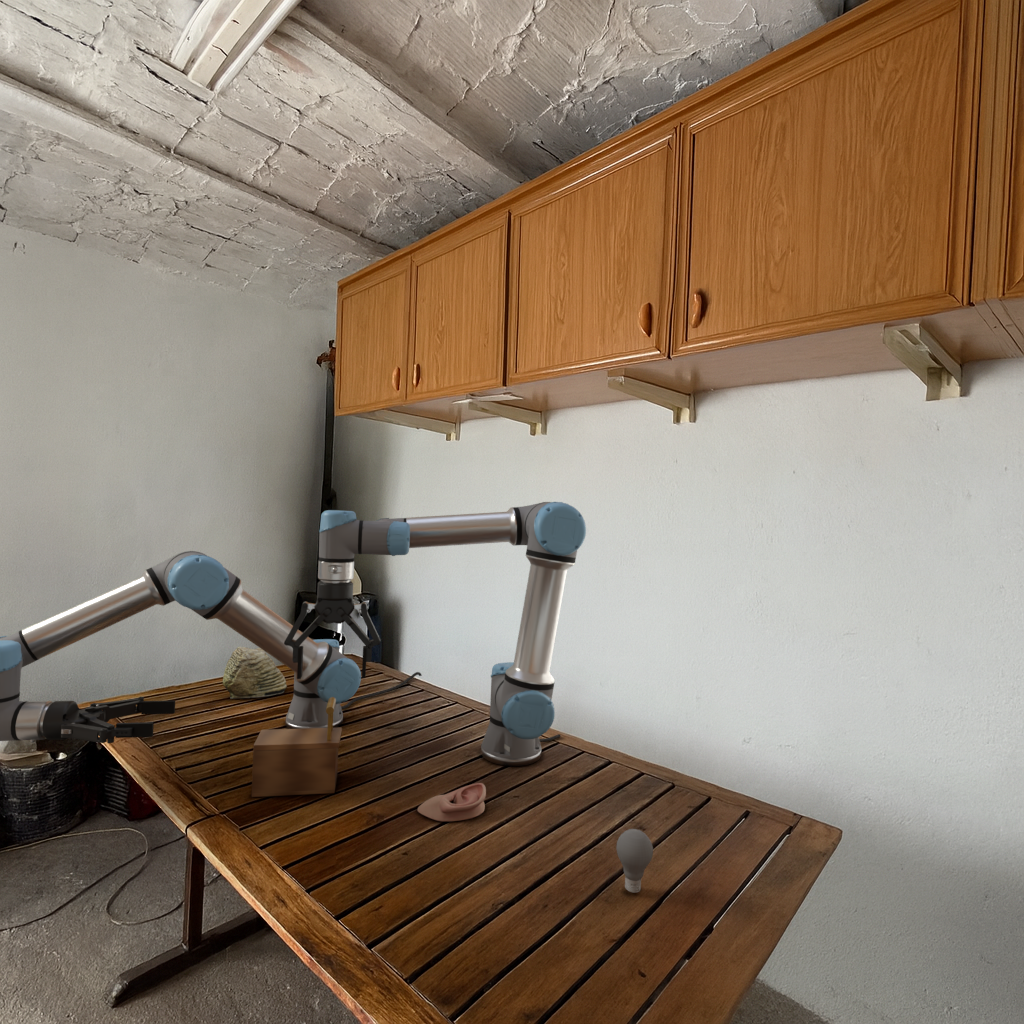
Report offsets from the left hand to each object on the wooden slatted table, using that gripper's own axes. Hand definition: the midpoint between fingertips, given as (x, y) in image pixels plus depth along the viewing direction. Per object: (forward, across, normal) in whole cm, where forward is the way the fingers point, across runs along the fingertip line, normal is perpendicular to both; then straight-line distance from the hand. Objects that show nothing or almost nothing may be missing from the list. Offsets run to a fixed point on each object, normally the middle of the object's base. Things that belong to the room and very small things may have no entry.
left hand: (164, 717), depth 133 cm
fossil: (+6, -65, -16) cm, 67 cm away
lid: (+27, 0, -6) cm, 28 cm away
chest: (+27, 0, -16) cm, 31 cm away
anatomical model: (+60, +14, -16) cm, 63 cm away
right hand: (+34, 0, +8) cm, 34 cm away
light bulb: (+86, +46, -16) cm, 99 cm away
